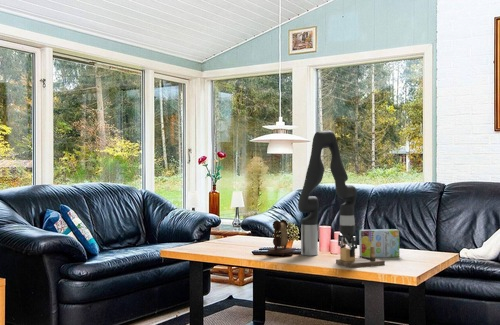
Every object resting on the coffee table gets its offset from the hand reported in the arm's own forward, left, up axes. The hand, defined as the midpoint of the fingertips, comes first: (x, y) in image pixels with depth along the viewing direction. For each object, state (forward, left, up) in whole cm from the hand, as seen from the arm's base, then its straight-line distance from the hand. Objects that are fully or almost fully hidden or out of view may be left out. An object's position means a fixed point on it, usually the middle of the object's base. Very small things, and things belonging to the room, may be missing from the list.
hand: (347, 255), depth 282 cm
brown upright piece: (-41, -18, -4) cm, 45 cm away
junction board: (+3, +6, -4) cm, 8 cm away
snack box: (-14, +30, -5) cm, 33 cm away
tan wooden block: (0, 0, -2) cm, 2 cm away
